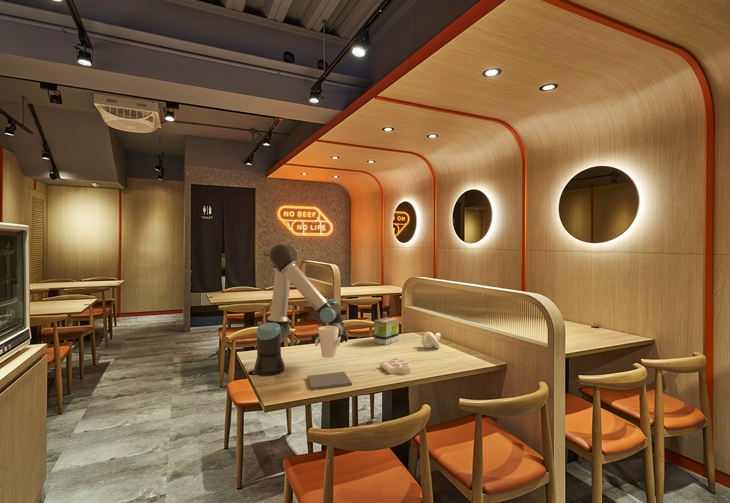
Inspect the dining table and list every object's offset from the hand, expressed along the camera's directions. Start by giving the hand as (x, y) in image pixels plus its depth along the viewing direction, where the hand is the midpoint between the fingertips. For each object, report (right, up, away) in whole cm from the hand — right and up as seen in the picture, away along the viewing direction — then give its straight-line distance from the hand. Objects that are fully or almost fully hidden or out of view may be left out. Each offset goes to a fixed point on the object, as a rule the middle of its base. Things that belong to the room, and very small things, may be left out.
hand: (327, 343), depth 173 cm
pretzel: (+57, -17, +60) cm, 85 cm away
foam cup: (0, -7, +5) cm, 9 cm away
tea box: (+31, -18, +75) cm, 83 cm away
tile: (0, -19, +4) cm, 19 cm away
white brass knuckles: (+34, -19, +21) cm, 44 cm away
